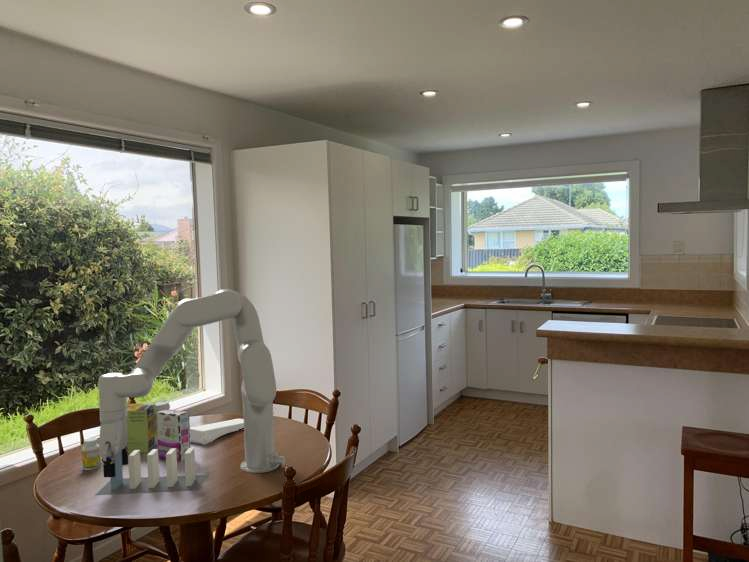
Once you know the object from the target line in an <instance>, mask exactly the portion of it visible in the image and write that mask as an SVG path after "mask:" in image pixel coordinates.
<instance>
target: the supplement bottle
mask: <svg viewBox="0 0 749 562" xmlns="http://www.w3.org/2000/svg"><path fill="white" fill-rule="evenodd" d="M81 456H82V457H81V459H82V469H83V470H84V471H87V470H89V471H91V470H95V469H98V468H99V467H101V462H102V460H101V455H100V444H98V438H97V437H89V438H85V439H84V440H83V446H82V448H81Z"/></svg>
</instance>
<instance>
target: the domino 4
mask: <svg viewBox="0 0 749 562" xmlns="http://www.w3.org/2000/svg"><path fill="white" fill-rule="evenodd" d="M184 455H185V460H184V472H185V473H184V474H185V475H184V476H185V479H186V486H192V484H193V483H194V481H195V480H196V476H195V475H196V457H195V455H196V453H195V447H190V448H188V450H187V451H186V452H185V453H184Z"/></svg>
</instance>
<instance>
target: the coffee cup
mask: <svg viewBox="0 0 749 562" xmlns="http://www.w3.org/2000/svg"><path fill="white" fill-rule="evenodd" d="M151 403H155V407H156V412H159V411H162V410H165V409H171V405H170V403H169V401H167V400H158V401H152V402H151ZM156 428H157V416H156Z"/></svg>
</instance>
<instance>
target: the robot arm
mask: <svg viewBox="0 0 749 562" xmlns="http://www.w3.org/2000/svg"><path fill="white" fill-rule="evenodd" d="M226 320H230V322H231V323H232V328H233V332H234V338H235V343H236V351H237V359H238V362H239V363H240V367H241V373H242V374H241V375H242V382H241V396H242V397H241V398H242V411H243V415H242V416H243V419H244V429H243V439H244V441H243V443H244V461H242V462H241V463H240V469H241V471H243V472H246V473H251V474H252V473H253V474H257V473H258V474H264V473H269V472H272V471H274V470H277V468H279V466H280V465H281V466H284V465H285V463H286V459H285V456H282V455H281V456H280V455H278V451H277V450H275V432H274V431H275V430H274V424H275V423H274V404H273V403H274V402H273V401H274V400H275V398H276V395H277V382H276V376H275V371H274V364H273V358H272V355H271V351H270V350H269V347H267V345H266V344H265V341H264V336H263V332H262V331H263V330H262V328H261V322H260V318H259V314H258V312H257V310H256V308H255V306H254V304H253V303H252V301H251V300H249V298H248V297H247V296H245V295H244V294H242V293H241V292H238V291H236V290H233V289H229V288H223V289H219V290H218V291H216V292H215V293H214V294H210V295H206V296H202V297H201V296H200V297H197V298H190V297H189V298H183V299H182V300H180V301H179V302H178V303H177V304H176V306H175V307H174V308H173V310H172V311H171V312H170V314H169V315H168V317H167V318H166V320H165V321H164V323H162V325H161V327H160V328H159V329H158V331H157V333H155V335H154V336H153V338H152V340H151V341H150V344H149V345H148V347H147V348H146V350H145V352H143V354H142V355H141V357H140V358H139V359H138V362H137V363H136V364H135V366H134V367H133V368H132V369H131V371H130V373H129V374H124V373H122V372H108V373H105V374H102V375H100V376H99V378H98V381H97V383H98V406H99V422H100V425H99V426H100V427H99V446H100V458H101V462H102V465H103V477H104V478H110V477H115V476H116V473H115V463H114V458H115V455H117V454H118V453H119V452H120V451H122V466H126V465H129V460H128V456H129V453H128V452H126V451H128V447H127V445H128V432H127V423H126V419H127V418H128V417H127V404H128V403H127V401H128V400H127V399H128V398H131V399H132V398H134V399H135V398H136V399H137V398H138V399H139V398H144V397H147V395H150V393H151V391H152V389H153V385H154V382H155V380H156V379H157V377H158V376H159V374H160V373H161V372H162V370H163V369H164V367H165V366H166V364H167V363H168V362H169V361H170V360H171V359H172V358H173V357H175V356H176V355H177V354H178V352H179V351H180V350H181V349H182V347H183V346H184V344H185V343H186V341H187V339H188V338H189V337H190V335H191V334H192V333H193V331H194V329H195V328H198V327H201V326H207V325H210V324H214V323H215V324H216V323H218V322H222V321H226ZM108 452H113V453H108ZM110 456H111V459H110V458H109V457H110Z"/></svg>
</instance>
